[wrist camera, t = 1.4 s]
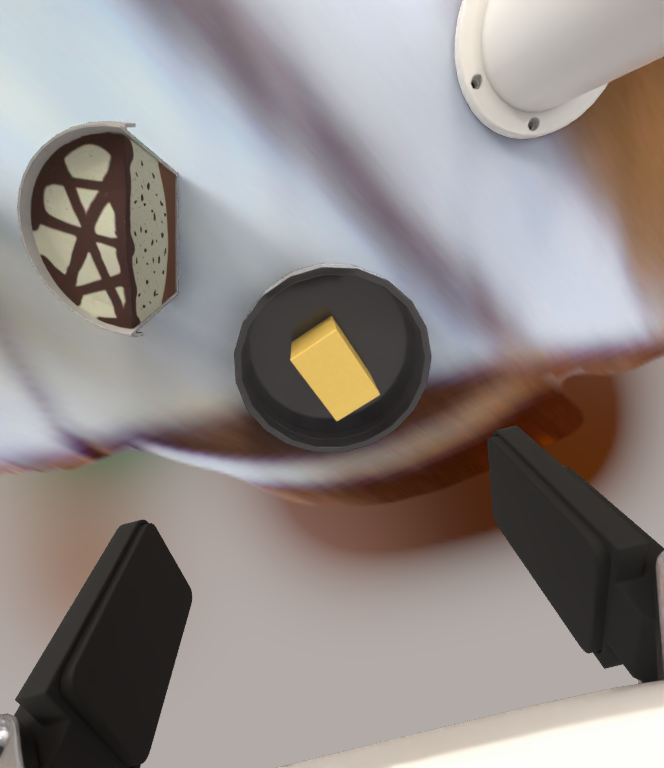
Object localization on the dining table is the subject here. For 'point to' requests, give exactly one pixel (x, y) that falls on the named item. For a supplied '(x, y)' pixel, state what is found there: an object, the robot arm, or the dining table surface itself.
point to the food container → (102, 225)
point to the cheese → (333, 369)
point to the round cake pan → (364, 332)
